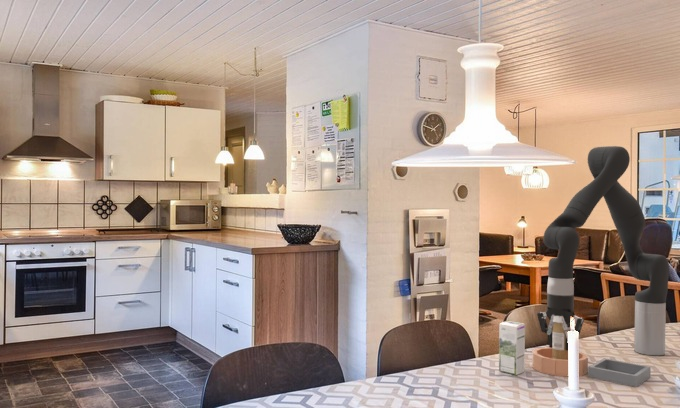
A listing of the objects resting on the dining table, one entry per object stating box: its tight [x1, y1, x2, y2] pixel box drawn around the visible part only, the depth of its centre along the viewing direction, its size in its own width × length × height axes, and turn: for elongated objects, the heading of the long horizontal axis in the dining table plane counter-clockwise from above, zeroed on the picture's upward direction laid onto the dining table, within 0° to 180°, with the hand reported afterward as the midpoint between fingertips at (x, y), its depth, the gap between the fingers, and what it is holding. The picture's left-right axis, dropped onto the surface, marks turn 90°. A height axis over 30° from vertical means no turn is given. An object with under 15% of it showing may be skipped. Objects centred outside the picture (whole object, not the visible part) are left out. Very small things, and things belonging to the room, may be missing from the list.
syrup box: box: [498, 320, 526, 376], centre depth 175 cm, size 6×6×14 cm
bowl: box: [531, 347, 589, 377], centre depth 179 cm, size 15×15×4 cm
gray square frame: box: [587, 357, 652, 388], centre depth 171 cm, size 13×13×3 cm
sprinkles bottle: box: [552, 316, 568, 360], centre depth 179 cm, size 5×5×14 cm
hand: (559, 348), depth 179 cm, fingers open, 4 cm apart
